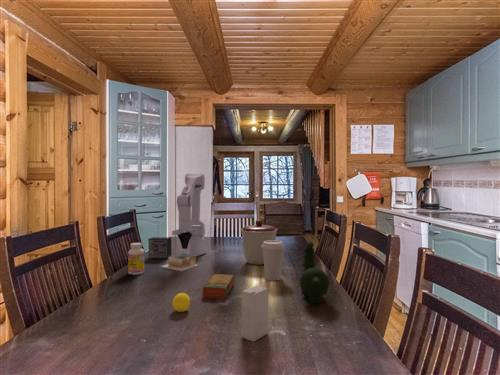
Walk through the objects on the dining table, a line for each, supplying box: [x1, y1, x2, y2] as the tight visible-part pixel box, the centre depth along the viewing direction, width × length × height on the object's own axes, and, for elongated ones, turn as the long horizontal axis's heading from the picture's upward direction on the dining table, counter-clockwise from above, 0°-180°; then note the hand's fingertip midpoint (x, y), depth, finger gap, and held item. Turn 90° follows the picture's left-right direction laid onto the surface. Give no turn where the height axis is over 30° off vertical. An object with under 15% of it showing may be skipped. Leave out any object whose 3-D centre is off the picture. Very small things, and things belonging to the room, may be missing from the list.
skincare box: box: [241, 285, 269, 342], centre depth 85 cm, size 6×4×12 cm
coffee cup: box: [261, 239, 285, 281], centre depth 136 cm, size 10×10×15 cm
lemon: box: [171, 292, 191, 313], centre depth 102 cm, size 7×5×5 cm
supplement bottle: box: [127, 242, 145, 276], centre depth 145 cm, size 7×7×13 cm
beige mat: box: [160, 263, 199, 272], centre depth 155 cm, size 11×13×1 cm
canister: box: [240, 219, 278, 266], centre depth 163 cm, size 18×18×21 cm
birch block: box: [168, 253, 197, 268], centre depth 157 cm, size 4×8×10 cm
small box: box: [147, 236, 173, 260], centre depth 174 cm, size 11×6×10 cm, turn 84°
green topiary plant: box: [299, 241, 330, 304], centre depth 115 cm, size 9×19×25 cm
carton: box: [202, 273, 235, 300], centre depth 121 cm, size 8×16×4 cm, turn 173°
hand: (184, 248), depth 158 cm, fingers closed
